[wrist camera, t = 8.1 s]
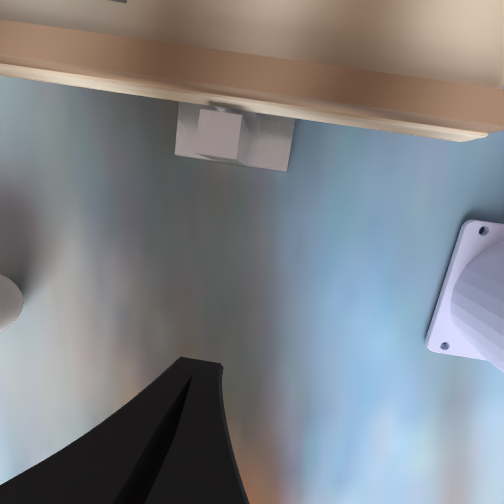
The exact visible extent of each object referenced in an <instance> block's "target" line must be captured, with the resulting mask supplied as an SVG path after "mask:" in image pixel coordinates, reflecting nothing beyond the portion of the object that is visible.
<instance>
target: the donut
mask: <svg viewBox="0 0 504 504" xmlns="http://www.w3.org/2000/svg"><path fill="white" fill-rule="evenodd" d="M23 303H24V302H23V295H22V293H21V291H20V290H19V288H18V286H17V285H16V284H15V283H14V282H13V281H11V280H10V279H9V278H7V277H5V276H2V275H0V332H2V331H3V330H4V329H5V328H7V327H8V326H9V325H10V324H12V323H13V322H14V321H15V320H16V319H17V317H18V316H19V314H20V313H21V311H22V307H23Z"/></svg>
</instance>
